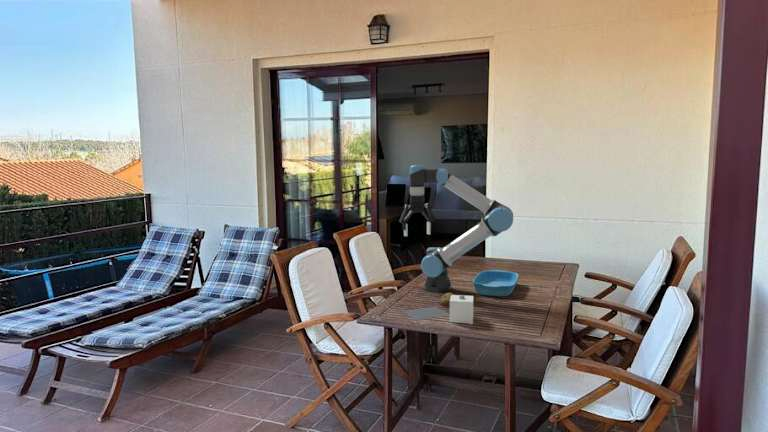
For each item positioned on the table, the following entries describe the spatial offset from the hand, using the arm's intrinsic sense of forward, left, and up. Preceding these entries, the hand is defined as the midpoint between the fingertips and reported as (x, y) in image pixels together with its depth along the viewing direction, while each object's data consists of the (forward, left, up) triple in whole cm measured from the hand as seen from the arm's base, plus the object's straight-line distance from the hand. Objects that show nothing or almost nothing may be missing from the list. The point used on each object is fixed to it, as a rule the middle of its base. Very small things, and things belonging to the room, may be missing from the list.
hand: (417, 235), depth 268 cm
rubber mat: (+13, +33, -32) cm, 48 cm away
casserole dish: (-43, +11, -32) cm, 55 cm away
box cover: (+3, +48, -32) cm, 58 cm away
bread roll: (-5, +26, -32) cm, 41 cm away
